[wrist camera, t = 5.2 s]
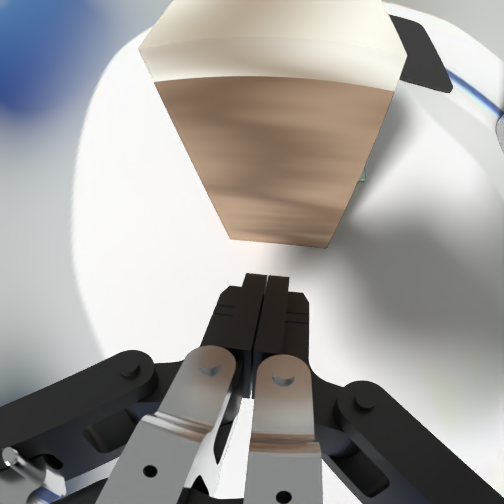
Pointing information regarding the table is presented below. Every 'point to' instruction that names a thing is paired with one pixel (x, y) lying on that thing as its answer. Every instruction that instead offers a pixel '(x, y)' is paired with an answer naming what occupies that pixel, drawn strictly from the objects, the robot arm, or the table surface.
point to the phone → (420, 57)
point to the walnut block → (276, 105)
